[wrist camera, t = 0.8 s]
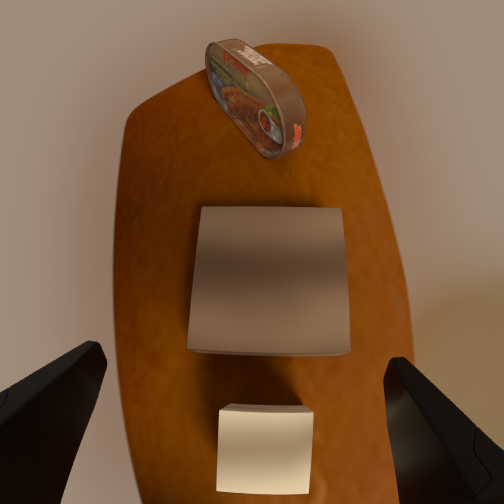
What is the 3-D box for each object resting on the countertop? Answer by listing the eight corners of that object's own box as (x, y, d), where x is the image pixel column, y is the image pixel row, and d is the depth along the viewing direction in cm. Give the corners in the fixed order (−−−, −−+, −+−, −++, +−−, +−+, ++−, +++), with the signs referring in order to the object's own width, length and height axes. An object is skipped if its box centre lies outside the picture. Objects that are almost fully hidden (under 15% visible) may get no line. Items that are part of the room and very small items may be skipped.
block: (300, 469, 17) (308, 493, 13) (228, 468, 17) (216, 490, 13) (303, 405, 19) (313, 412, 15) (230, 403, 19) (219, 410, 15)
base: (339, 355, 20) (350, 351, 17) (197, 352, 21) (186, 348, 18) (333, 227, 24) (341, 208, 21) (209, 226, 25) (201, 206, 22)
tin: (208, 93, 32) (196, 33, 24) (232, 84, 32) (224, 24, 25) (278, 179, 26) (280, 105, 19) (308, 165, 27) (317, 92, 19)
